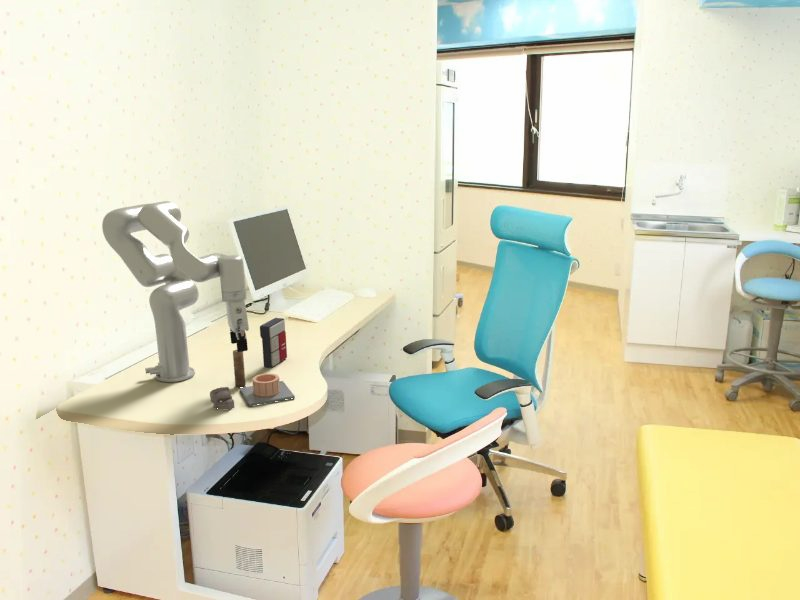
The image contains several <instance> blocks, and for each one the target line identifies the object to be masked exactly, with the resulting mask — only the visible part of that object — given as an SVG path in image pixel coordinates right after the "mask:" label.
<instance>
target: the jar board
mask: <svg viewBox="0 0 800 600" xmlns="http://www.w3.org/2000/svg"><path fill="white" fill-rule="evenodd" d="M239 391H241V392H240V393H241V394H243V395H242V396H244V397H243V398H244V400H245V399H246V400H245V402H246V403H247V402H248V403H247V405H248V404H249V405H248V406H249V407H250V406H252V407H254V406H253V405H257V404H263V405H265V404H264V403H269V404H271V403H270V402H274V403H276V402H275V401H280V402H282V401H281V400H285V399H291V398H295V399H296V396H295V394H294V393H293V392H292V391H291V390H290V388H289V387H288V386H287V384H286V383H285V382H284V380H280V376H279V375H278V374H275V373H268V372H267V373H260V374H258V375H257V374H256V375H255V376H254V377H253V378H252V385H250V386H245V387H243V388H239ZM291 400H292V399H291ZM257 406H258V405H257Z"/></svg>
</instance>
